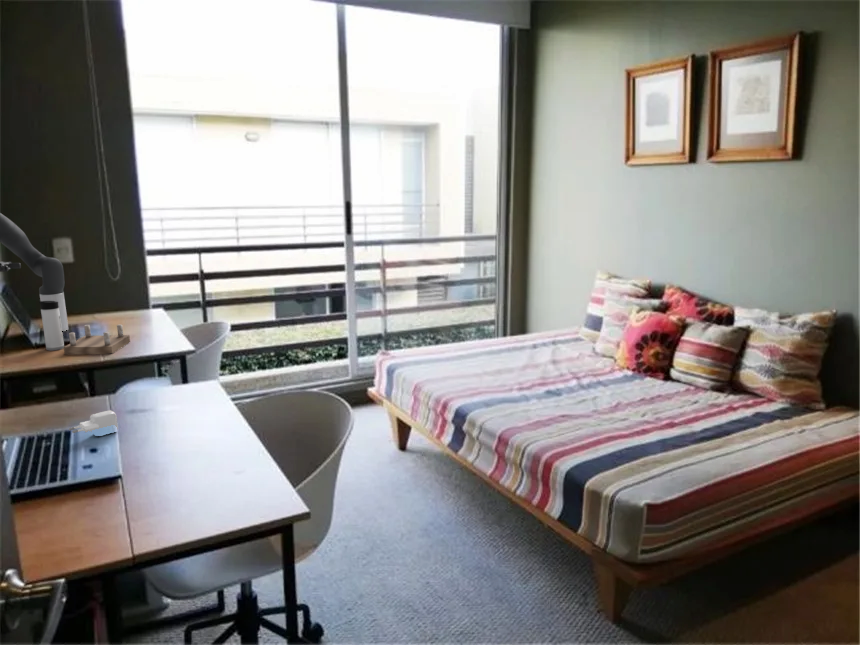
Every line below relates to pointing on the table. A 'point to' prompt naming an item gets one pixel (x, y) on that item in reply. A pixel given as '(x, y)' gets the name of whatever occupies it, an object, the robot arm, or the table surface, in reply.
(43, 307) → the travel mug
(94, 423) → the power adapter
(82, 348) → the peg stand
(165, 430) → the table surface
